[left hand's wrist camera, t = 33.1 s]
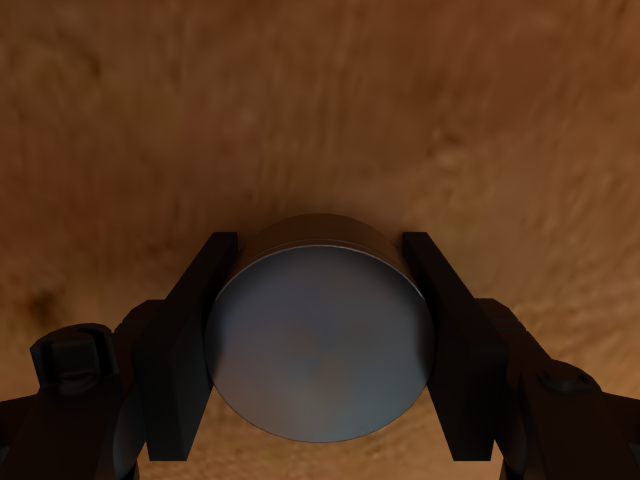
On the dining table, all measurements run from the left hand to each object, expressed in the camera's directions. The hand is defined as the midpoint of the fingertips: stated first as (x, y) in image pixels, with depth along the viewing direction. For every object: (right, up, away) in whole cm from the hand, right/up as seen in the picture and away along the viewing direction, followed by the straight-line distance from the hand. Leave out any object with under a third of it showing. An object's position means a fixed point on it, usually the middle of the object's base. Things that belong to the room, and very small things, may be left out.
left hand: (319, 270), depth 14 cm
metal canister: (0, -1, -4) cm, 4 cm away
